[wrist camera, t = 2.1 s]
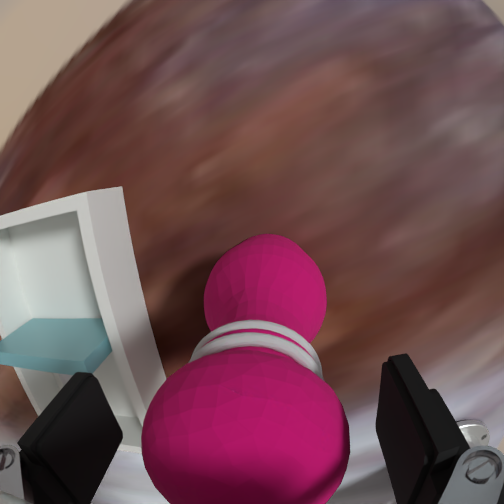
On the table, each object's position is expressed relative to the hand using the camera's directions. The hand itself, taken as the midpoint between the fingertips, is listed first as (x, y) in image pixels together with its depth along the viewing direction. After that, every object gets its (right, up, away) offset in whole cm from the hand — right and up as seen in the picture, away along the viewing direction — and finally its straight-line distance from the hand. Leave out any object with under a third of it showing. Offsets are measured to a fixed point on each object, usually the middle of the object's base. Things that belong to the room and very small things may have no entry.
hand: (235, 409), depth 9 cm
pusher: (-15, -3, +16) cm, 22 cm away
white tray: (-15, -2, +17) cm, 22 cm away
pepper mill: (+2, +3, +14) cm, 15 cm away
